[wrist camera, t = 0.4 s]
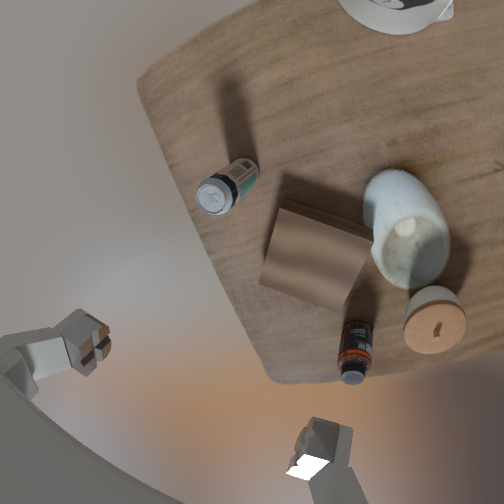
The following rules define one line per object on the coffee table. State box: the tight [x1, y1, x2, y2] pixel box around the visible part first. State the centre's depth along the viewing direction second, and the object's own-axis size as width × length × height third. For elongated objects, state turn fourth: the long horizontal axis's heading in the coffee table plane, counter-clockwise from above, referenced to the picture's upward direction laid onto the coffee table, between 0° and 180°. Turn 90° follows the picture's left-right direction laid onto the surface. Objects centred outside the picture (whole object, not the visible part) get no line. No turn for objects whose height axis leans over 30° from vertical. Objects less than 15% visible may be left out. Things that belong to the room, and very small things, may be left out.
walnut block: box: [258, 198, 374, 313], centre depth 47 cm, size 14×14×4 cm
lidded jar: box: [403, 286, 467, 354], centre depth 41 cm, size 11×11×9 cm
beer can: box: [196, 158, 259, 215], centre depth 41 cm, size 5×5×12 cm
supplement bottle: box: [337, 321, 373, 385], centre depth 49 cm, size 6×6×11 cm
